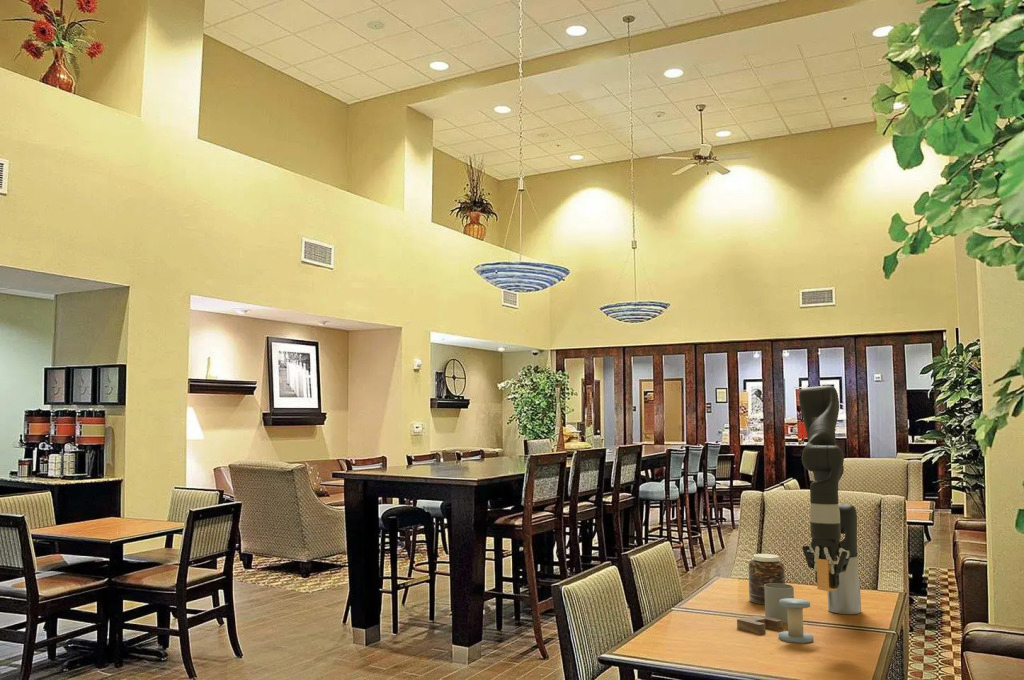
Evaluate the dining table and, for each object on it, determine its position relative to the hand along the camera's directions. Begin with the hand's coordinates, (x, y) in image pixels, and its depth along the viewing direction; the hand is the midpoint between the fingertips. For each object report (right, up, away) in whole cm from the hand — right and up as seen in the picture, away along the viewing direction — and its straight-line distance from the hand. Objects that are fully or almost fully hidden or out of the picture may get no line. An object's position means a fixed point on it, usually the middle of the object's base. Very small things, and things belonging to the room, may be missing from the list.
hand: (827, 586), depth 216 cm
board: (-12, -18, +19) cm, 29 cm away
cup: (-3, -19, +30) cm, 35 cm away
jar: (+2, -22, +55) cm, 60 cm away
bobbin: (-6, -16, +7) cm, 19 cm away
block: (0, -1, 0) cm, 1 cm away
